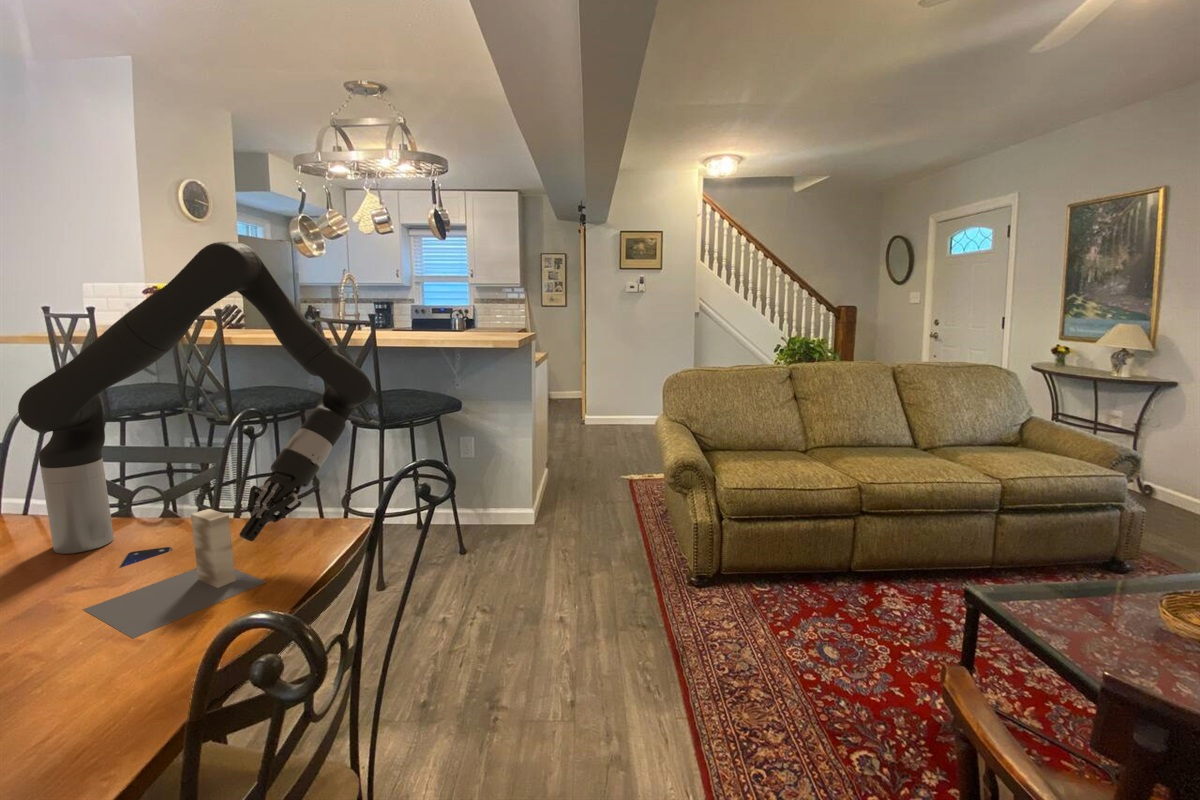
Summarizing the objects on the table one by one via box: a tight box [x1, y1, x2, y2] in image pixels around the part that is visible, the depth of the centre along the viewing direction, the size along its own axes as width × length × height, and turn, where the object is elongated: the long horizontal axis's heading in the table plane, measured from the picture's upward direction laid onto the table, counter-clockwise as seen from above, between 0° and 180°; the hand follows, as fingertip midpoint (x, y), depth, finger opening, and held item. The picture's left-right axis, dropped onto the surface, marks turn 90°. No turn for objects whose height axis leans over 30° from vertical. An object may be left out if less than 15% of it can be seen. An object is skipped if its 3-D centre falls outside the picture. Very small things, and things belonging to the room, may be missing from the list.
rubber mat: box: [82, 567, 267, 639], centre depth 99 cm, size 16×20×1 cm
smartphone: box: [118, 546, 173, 569], centre depth 110 cm, size 7×1×15 cm
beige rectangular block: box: [190, 508, 236, 588], centre depth 103 cm, size 6×3×12 cm, turn 61°
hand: (245, 538), depth 108 cm, fingers closed
